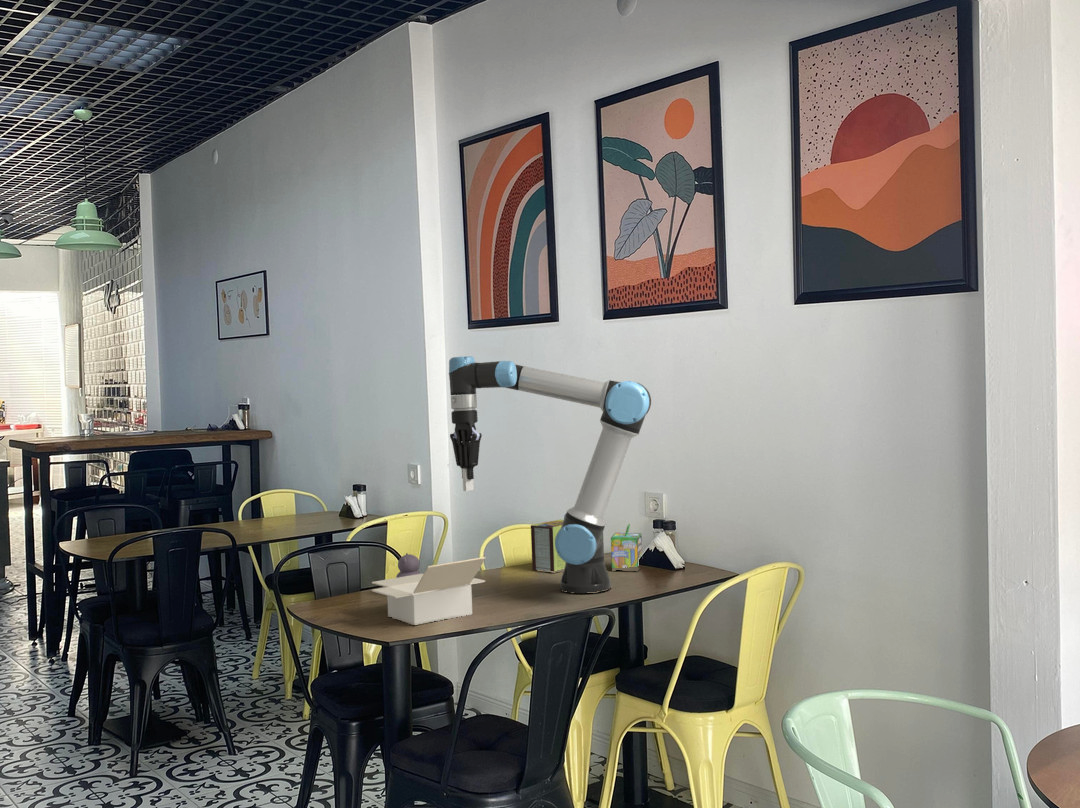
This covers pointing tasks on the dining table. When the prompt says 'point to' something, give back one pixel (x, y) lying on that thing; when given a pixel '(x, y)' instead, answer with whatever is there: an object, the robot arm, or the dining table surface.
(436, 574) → the flap
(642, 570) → the dining table surface
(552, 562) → the protein box
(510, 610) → the dining table surface
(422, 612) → the carton
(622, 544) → the chalk box
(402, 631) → the dining table surface
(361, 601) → the dining table surface
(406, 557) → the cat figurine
